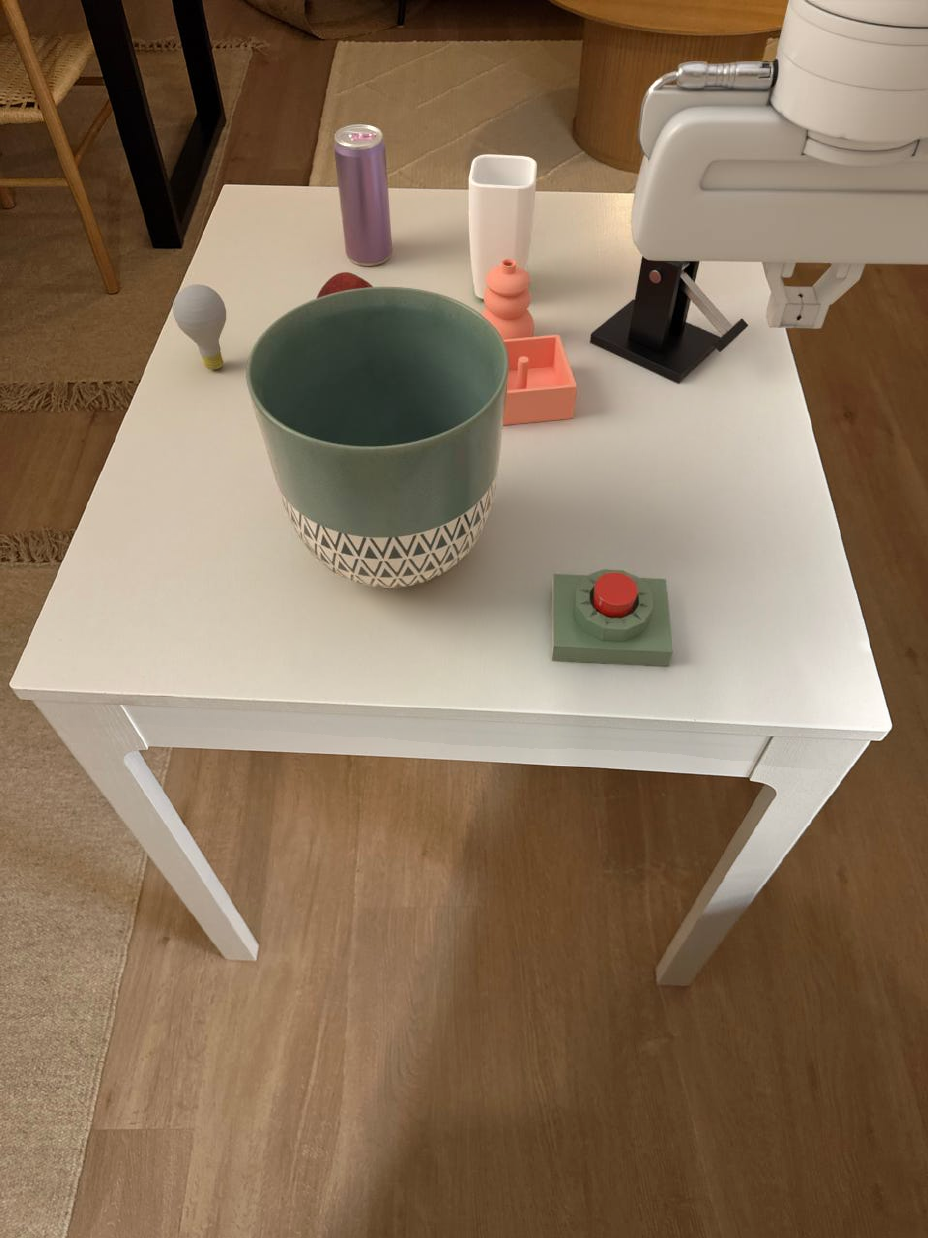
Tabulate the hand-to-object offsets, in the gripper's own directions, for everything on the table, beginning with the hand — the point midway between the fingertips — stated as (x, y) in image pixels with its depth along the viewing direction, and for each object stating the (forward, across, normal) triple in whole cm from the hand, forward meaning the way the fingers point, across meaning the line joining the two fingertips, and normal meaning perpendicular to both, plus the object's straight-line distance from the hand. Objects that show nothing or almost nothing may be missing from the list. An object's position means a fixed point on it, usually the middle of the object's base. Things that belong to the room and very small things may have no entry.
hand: (792, 322), depth 52 cm
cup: (+32, -19, +53) cm, 65 cm away
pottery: (+32, -16, +37) cm, 52 cm away
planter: (+32, -27, +9) cm, 43 cm away
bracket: (+32, 0, +43) cm, 54 cm away
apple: (+32, -36, +42) cm, 64 cm away
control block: (+32, -7, +2) cm, 33 cm away
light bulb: (+32, -50, +36) cm, 69 cm away
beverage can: (+32, -36, +60) cm, 77 cm away
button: (+28, -7, +2) cm, 29 cm away
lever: (+26, +3, +41) cm, 49 cm away
